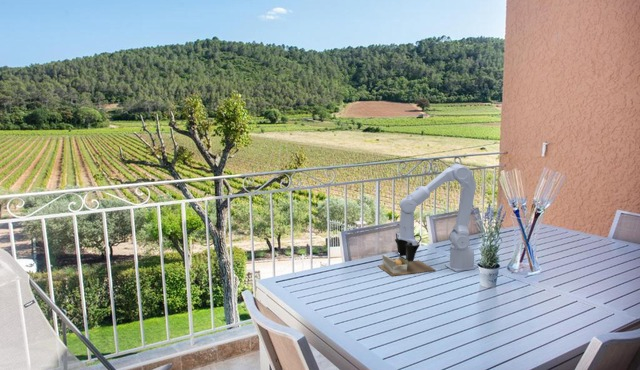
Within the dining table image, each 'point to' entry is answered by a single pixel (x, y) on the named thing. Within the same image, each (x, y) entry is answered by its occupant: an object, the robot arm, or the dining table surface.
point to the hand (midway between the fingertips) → (406, 257)
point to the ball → (398, 262)
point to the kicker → (404, 261)
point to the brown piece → (403, 267)
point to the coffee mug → (407, 242)
